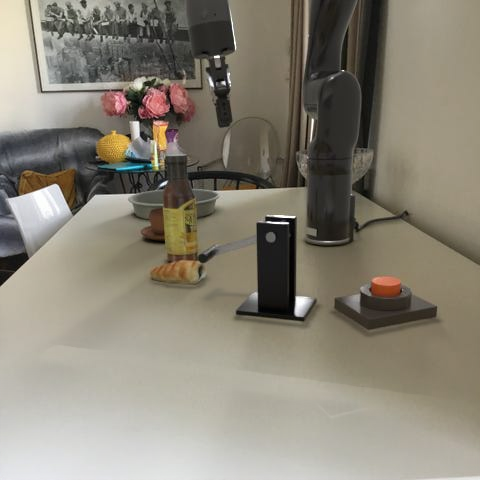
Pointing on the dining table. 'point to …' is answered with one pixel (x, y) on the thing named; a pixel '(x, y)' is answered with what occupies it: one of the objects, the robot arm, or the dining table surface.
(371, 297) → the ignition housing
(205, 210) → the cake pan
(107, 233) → the dining table surface
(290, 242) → the stand
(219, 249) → the lever
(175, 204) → the sauce bottle
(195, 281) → the pastry
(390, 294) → the ignition button
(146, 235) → the cup and saucer
